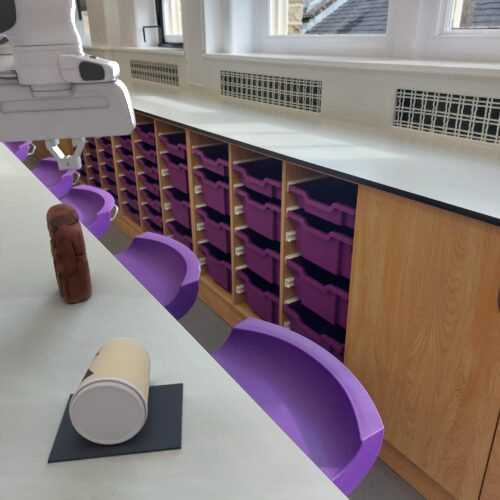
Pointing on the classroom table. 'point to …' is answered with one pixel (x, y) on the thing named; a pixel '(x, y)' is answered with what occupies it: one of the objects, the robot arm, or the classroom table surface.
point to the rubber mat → (146, 440)
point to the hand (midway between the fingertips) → (70, 168)
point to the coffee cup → (113, 393)
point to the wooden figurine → (69, 253)
